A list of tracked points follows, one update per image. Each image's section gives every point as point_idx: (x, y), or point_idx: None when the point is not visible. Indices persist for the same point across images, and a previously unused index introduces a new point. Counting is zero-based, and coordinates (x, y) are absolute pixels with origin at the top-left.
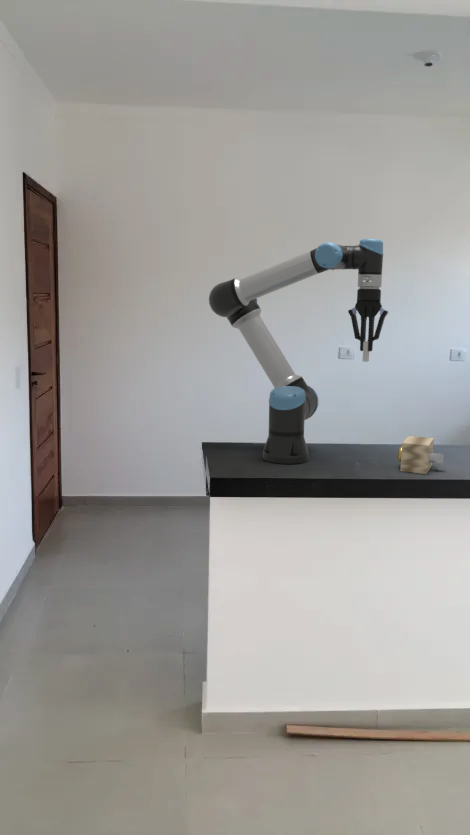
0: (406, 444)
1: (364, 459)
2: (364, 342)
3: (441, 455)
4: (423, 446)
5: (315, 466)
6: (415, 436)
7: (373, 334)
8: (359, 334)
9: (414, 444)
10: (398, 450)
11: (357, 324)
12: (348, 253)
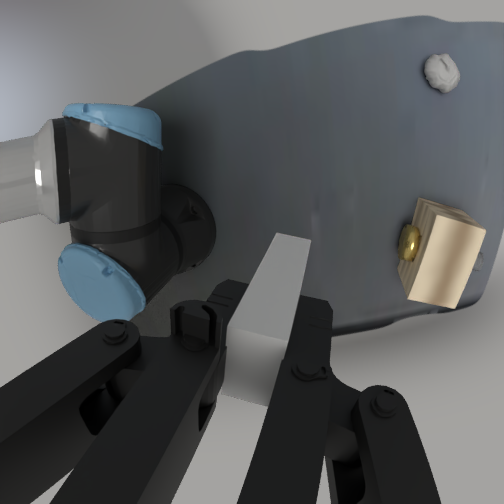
0: (415, 299)
1: (329, 187)
2: (235, 390)
3: (477, 270)
4: (445, 305)
5: (238, 268)
6: (448, 66)
7: (325, 436)
8: (114, 372)
9: (430, 303)
10: (402, 258)
11: (7, 457)
12: None
